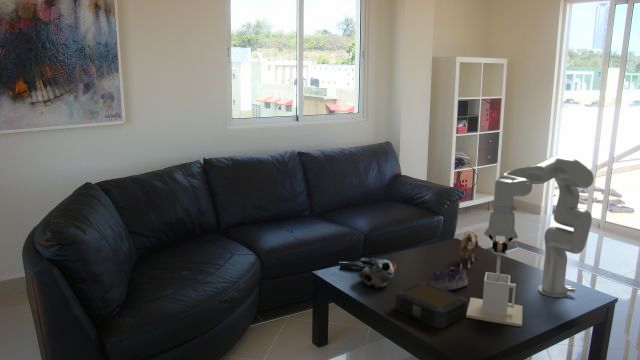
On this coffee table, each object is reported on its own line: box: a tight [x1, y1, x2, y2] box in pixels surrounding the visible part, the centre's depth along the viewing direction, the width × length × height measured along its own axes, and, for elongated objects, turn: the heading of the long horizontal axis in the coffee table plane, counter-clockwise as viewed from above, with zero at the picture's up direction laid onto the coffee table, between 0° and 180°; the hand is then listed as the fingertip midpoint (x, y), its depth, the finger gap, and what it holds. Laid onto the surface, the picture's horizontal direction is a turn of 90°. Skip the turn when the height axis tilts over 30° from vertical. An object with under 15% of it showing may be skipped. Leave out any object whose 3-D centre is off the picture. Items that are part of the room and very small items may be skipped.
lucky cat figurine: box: [357, 258, 397, 289], centre depth 247 cm, size 17×14×16 cm
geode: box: [430, 266, 469, 292], centre depth 244 cm, size 20×12×10 cm, turn 124°
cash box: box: [394, 281, 469, 329], centre depth 219 cm, size 25×20×8 cm
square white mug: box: [465, 271, 523, 328], centre depth 217 cm, size 22×18×16 cm
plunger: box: [492, 240, 508, 282], centre depth 214 cm, size 8×8×21 cm
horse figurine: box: [459, 230, 482, 270], centre depth 272 cm, size 31×8×21 cm, turn 152°
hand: (499, 250), depth 213 cm, fingers closed on plunger, 3 cm apart
